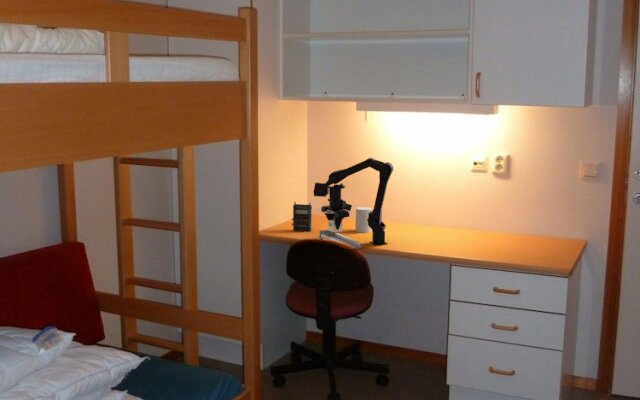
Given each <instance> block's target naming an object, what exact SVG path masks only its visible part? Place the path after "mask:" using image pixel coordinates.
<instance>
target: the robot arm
mask: <svg viewBox="0 0 640 400" xmlns="http://www.w3.org/2000/svg"><path fill="white" fill-rule="evenodd" d="M368 168H371V169H373V170H375V171H376V172H378V174H379V175H378V176H379V177H378V178H379V183H378V187H377V192H376V195H375V196H376V197H375V199H374V200H375V201H374V205H373V208H372V210H371V211H370V212H369V214H368V220H367V221H368V225H369V227H370V228H371V232H372V235H371V236H372V238H371V239H372V240H371V241H369V243H370V244H372V245H375V246H381V245H388V242H386V232H385V229H386V228H387V225H386V224H385V223H384V222H383V221H382V219H383V212H382V210H383V205H384V200H385V196H386V192H387V187H388V183H389V181H390V178H391V176H392V173H393V172H394V166H393V164H392V163H391V162H385V161H381V160H377V159H374V158H372V157H369V158H367V159H365V160H363V161H360V162H359V163H356V164H354V165H351V166H349V167H347V168H342V169H338V170H335V171H332V172H330V173H329V175H328V179H327V181H325V182H314V187H313V196H314V197H321V198H322V197H323V198H326V197H327V196H329V198H327V202H328V203H329V205H322V207H321V213H324V215H325V217H326V219H327V221H328V220H334V223H335V226H336V229H337V230H339V227H340V224H341V222H342V223H343V220H344V219H345V218H348V217H349V218H350V212H351V210H352V207H353V205H352V204H350V203H347V202H346V200H343V199H342V190H343V189H346V186H345V184H343V183H342V181H343V180H344V179H346V178H347V177H349V176H353V174H356V173H358V172H361V171H364V170H365V169H368ZM340 182H341V183H340ZM338 183H340V184H338Z"/></svg>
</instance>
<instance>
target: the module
mask: <svg viewBox="0 0 640 400" xmlns="http://www.w3.org/2000/svg"><path fill="white" fill-rule="evenodd" d="M327 221H328V222H327V226H328V227H327V230H329V231H331V232H337V233H338V232H340V233H341V232H343V221H342V222H341V224H340V227H339V230H337V229H336V226H335V223H334V220H328V219H327Z"/></svg>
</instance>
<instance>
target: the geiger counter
mask: <svg viewBox="0 0 640 400" xmlns="http://www.w3.org/2000/svg"><path fill="white" fill-rule="evenodd" d="M292 206H293V207H292V215H293V217H292V218H291V220H292V223H291V226H292V227H293V228H292V231H293V230H294V231H293V232H304V231H306V233H311V232H312V209H313V207H312V204H311V202H309V203H308V204H301V203H300V204H298V203H296V201H294V203H293V205H292Z"/></svg>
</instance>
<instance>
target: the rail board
mask: <svg viewBox="0 0 640 400" xmlns="http://www.w3.org/2000/svg"><path fill="white" fill-rule="evenodd" d="M318 238H320V239H327V240H332V241H337V242H341V243H345V244H348V245H350V246H352V247H355V248H356V249H361V248H363V245H361V242H360V241H357V240H355V239H353V238H350V237H347V236H345V235H344V234H341V233H338V232H331V231H329V230H328V229H324V230H319V236H318V237H317V239H318ZM320 239H319V240H320Z"/></svg>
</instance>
